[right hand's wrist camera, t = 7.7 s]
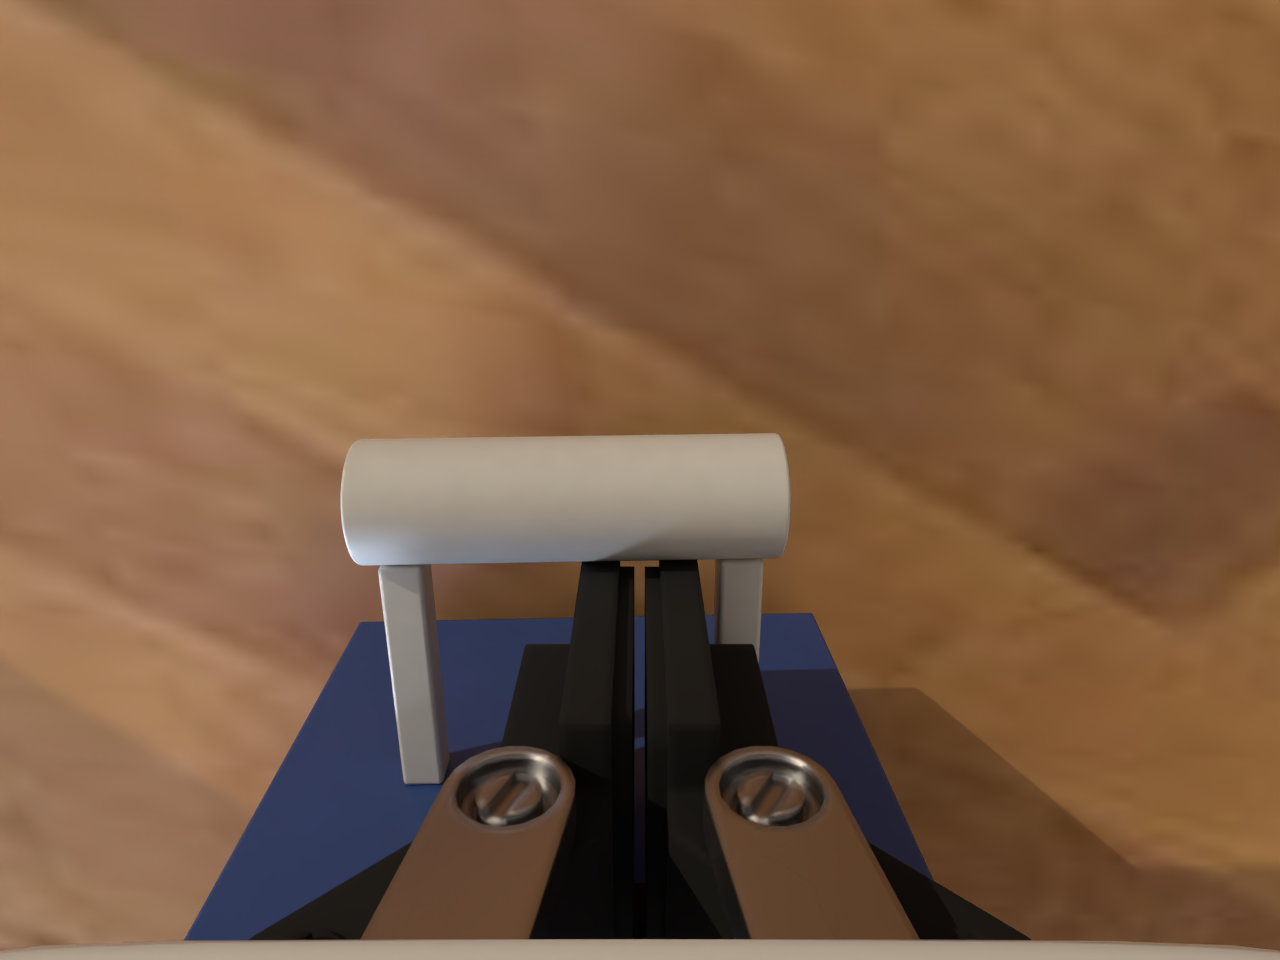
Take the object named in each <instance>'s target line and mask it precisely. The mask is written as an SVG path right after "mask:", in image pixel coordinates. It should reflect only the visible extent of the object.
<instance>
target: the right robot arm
mask: <svg viewBox="0 0 1280 960" xmlns="http://www.w3.org/2000/svg"><path fill="white" fill-rule="evenodd" d="M634 762H635V642H634V567H620V561H582V565H581V572H580V579H579V586H578V593H577V600H576V607H575V613H574V620H573V627H572V634H571V641H570V644H527V645H526V646H525V649H524V652H523V656H522V661H521V665H520V669H519V673H518V677H517V682H516V686H515V690H514V694H513V698H512V703H511V707H510V711H509V715H508V719H507V724H506V728H505V732H504V736H503V740H502V745H501V748H496V749H491V750H487V751H485V752H482V753H480V754H478V755H475V756H473V757H470V758H469V759H468V760H466V761H465V762H463V763H462V764H461V765H459V766H458V767H457V768H455V769H454V771H453V772H452V773H451V774H450V776H449V777H448V778H447V780H446V781H445V782H444V784H443V786H442V788H441V790H440V792H439V794H438V795H437V797H436V799H435V801H434V803H433V805H432V807H431V809H430V810H429V812H428V814H427V816H426V818H425V820H424V822H423V823H422V825H421V827H420V829H419V831H418V833H417V835H416V836H415V838H414V840H413V841H412V842H410V843H409V844H407V845H405V846H404V847H402V848H400V849H399V850H397V851H395V852H394V853H392V854H390V855H388V856H387V857H385V858H383V859H382V860H380V861H378V862H377V863H375V864H373V865H372V866H370V867H368V868H367V869H365V870H363V871H362V872H360V873H358V874H357V875H355V876H353V877H352V878H350V879H348V880H347V881H345V882H343V883H342V884H340V885H338V886H337V887H335V888H333V889H331V890H330V891H328V892H326V893H325V894H323V895H321V896H320V897H318V898H316V899H315V900H313V901H311V902H310V903H308V904H306V905H305V906H303V907H301V908H300V909H298V910H296V911H295V912H293V913H291V914H290V915H288V916H286V917H285V918H283V919H281V920H280V921H278V922H276V923H274V924H273V925H271V926H269V927H268V928H266V929H264V930H263V931H261V932H259V933H258V934H256V935H254V936H253V937H252V938H250V939H249V940H215V941H149V942H122V943H96V944H70V945H45V946H36V947H27V948H18V949H9V950H0V960H1280V950H1271V949H1262V948H1253V947H1244V946H1235V945H1210V944H1184V943H1158V942H1131V941H1065V940H1031V939H1029V938H1028V937H1027V936H1025V935H1023V934H1022V933H1020V932H1018V931H1017V930H1015V929H1013V928H1012V927H1010V926H1008V925H1007V924H1005V923H1003V922H1002V921H1000V920H998V919H997V918H995V917H993V916H992V915H990V914H988V913H987V912H985V911H983V910H981V909H980V908H978V907H976V906H975V905H973V904H971V903H970V902H968V901H966V900H965V899H963V898H961V897H960V896H958V895H956V894H955V893H953V892H951V891H950V890H948V889H946V888H945V887H943V886H941V885H940V884H938V883H936V882H934V881H933V880H931V879H929V878H928V877H926V876H924V875H923V874H921V873H919V872H918V871H916V870H914V869H913V868H911V867H909V866H908V865H906V864H904V863H903V862H901V861H899V860H898V859H896V858H894V857H893V856H891V855H889V854H887V853H886V852H884V851H882V850H881V849H879V848H877V847H876V846H874V845H872V844H871V843H869V842H867V840H866V838H865V836H864V835H863V833H862V831H861V829H860V827H859V825H858V823H857V822H856V820H855V818H854V816H853V814H852V812H851V810H850V809H849V807H848V805H847V803H846V801H845V799H844V797H843V795H842V794H841V792H840V790H839V788H838V786H837V784H836V782H835V781H834V780H833V778H832V777H831V776H830V774H829V773H828V772H827V771H826V769H825V768H823V767H822V766H821V765H819V764H818V763H817V762H815V761H814V760H812V759H811V758H810V757H807V756H805V755H802V754H800V753H798V752H795V751H793V750H789V749H784V748H779V747H778V743H777V739H776V735H775V731H774V726H773V722H772V718H771V714H770V710H769V705H768V701H767V697H766V693H765V689H764V685H763V680H762V676H761V672H760V668H759V664H758V659H757V655H756V651H755V648H754V645H753V644H709V639H708V632H707V625H706V618H705V611H704V605H703V598H702V591H701V584H700V577H699V571H698V564H697V559H693V560H659V567H645V832H646V932H647V939H633V871H634Z"/></svg>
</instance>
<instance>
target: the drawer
mask: <svg viewBox="0 0 1280 960" xmlns="http://www.w3.org/2000/svg"><path fill="white" fill-rule="evenodd" d="M790 512H791V491H790V475H789V466H788V459H787V454H786V450H785V446H784V443H783V441H782V438H781V437H780V435H778V434H776V433H755V434H682V435H608V436H535V437H462V438H389V439H359V440H357V441H355V442H354V443H353V444H352V446H351V447H350V449H349V451H348V454H347V457H346V460H345V464H344V469H343V475H342V483H341V519H342V527H343V533H344V538H345V542H346V545H347V548H348V551H349V554H350V556H351V558H352V559H353V560H354V561H355V562H356V563H357V564H359V565H381V566H380V568H379V571H378V574H379V582H380V590H381V599H382V607H383V615H384V622H361V623H360V624H359V625H358V627H357V629H356V631H355V633H354V634H353V636H352V638H351V640H350V642H349V643H348V645H347V647H346V649H345V651H344V652H343V654H342V656H341V658H340V660H339V661H338V663H337V665H336V667H335V669H334V670H333V672H332V674H331V676H330V678H329V680H328V681H327V683H326V685H325V687H324V689H323V690H322V692H321V694H320V696H319V698H318V699H317V701H316V703H315V705H314V707H313V708H312V710H311V712H310V714H309V716H308V717H307V719H306V721H305V723H304V725H303V726H302V728H301V730H300V732H299V734H298V735H297V737H296V739H295V741H294V743H293V744H292V746H291V748H290V750H289V752H288V754H287V755H286V757H285V759H284V761H283V763H282V764H281V766H280V768H279V770H278V772H277V773H276V775H275V777H274V779H273V781H272V782H271V784H270V786H269V788H268V790H267V791H266V793H265V795H264V797H263V799H262V800H261V802H260V804H259V806H258V808H257V809H256V811H255V813H254V815H253V817H252V818H251V820H250V822H249V824H248V826H247V828H246V829H245V831H244V833H243V835H242V837H241V838H240V840H239V842H238V844H237V846H236V847H235V849H234V851H233V853H232V855H231V856H230V858H229V860H228V862H227V864H226V865H225V867H224V869H223V871H222V873H221V874H220V876H219V878H218V880H217V882H216V883H215V885H214V887H213V889H212V891H211V892H210V894H209V896H208V898H207V900H206V902H205V903H204V905H203V907H202V909H201V911H200V912H199V914H198V916H197V918H196V920H195V921H194V923H193V925H192V927H191V929H190V930H189V932H188V934H187V936H186V938H185V939H184V941H215V940H249V939H250V938H252V937H253V936H254V935H256V934H258V933H259V932H261V931H263V930H264V929H266V928H268V927H269V926H271V925H273V924H274V923H276V922H278V921H280V920H281V919H283V918H285V917H286V916H288V915H290V914H291V913H293V912H295V911H296V910H298V909H300V908H301V907H303V906H305V905H306V904H308V903H310V902H311V901H313V900H315V899H316V898H318V897H320V896H321V895H323V894H325V893H326V892H328V891H330V890H331V889H333V888H335V887H337V886H338V885H340V884H342V883H343V882H345V881H347V880H348V879H350V878H352V877H353V876H355V875H357V874H358V873H360V872H362V871H363V870H365V869H367V868H368V867H370V866H372V865H373V864H375V863H377V862H378V861H380V860H382V859H383V858H385V857H387V856H388V855H390V854H392V853H394V852H395V851H397V850H399V849H400V848H402V847H404V846H405V845H407V844H409V843H410V842H412V841H413V840H414V838H415V836H416V835H417V833H418V831H419V829H420V827H421V825H422V823H423V822H424V820H425V818H426V816H427V814H428V812H429V810H430V809H431V807H432V805H433V803H434V801H435V799H436V797H437V795H438V794H439V792H440V790H441V788H442V786H443V784H444V782H445V781H446V780H447V778H448V777H449V776H450V774H451V773H452V772H453V771H454V769H455V768H457V767H458V766H459V765H461V764H462V763H463V762H465V761H466V760H468V759H469V758H470V757H473V756H475V755H478V754H480V753H482V752H485V751H487V750H491V749H496V748H501V745H502V740H503V736H504V732H505V728H506V724H507V719H508V715H509V711H510V707H511V703H512V698H513V694H514V690H515V686H516V682H517V677H518V673H519V669H520V665H521V661H522V656H523V652H524V649H525V646H526V645H527V644H570V641H571V634H572V627H573V620H574V618H539V619H489V620H438V621H436V614H435V604H434V594H433V583H432V573H431V564H469V563H525V562H581V561H637V560H693V559H716V562H715V597H714V615H705V618H706V625H707V632H708V639H709V644H753V645H754V648H755V651H756V655H757V659H758V664H759V668H760V672H761V676H762V680H763V685H764V689H765V693H766V697H767V701H768V705H769V710H770V714H771V718H772V722H773V726H774V731H775V735H776V739H777V743H778V747H779V748H784V749H789V750H793V751H795V752H798V753H800V754H802V755H805V756H807V757H810V758H811V759H812V760H814V761H815V762H817V763H818V764H819V765H821V766H822V767H823V768H825V769H826V771H827V772H828V773H829V774H830V776H831V777H832V778H833V780H834V781H835V782H836V784H837V786H838V788H839V790H840V792H841V794H842V795H843V797H844V799H845V801H846V803H847V805H848V807H849V809H850V810H851V812H852V814H853V816H854V818H855V820H856V822H857V823H858V825H859V827H860V829H861V831H862V833H863V835H864V836H865V838H866V840H867V842H869V843H871V844H872V845H874V846H876V847H877V848H879V849H881V850H882V851H884V852H886V853H887V854H889V855H891V856H893V857H894V858H896V859H898V860H899V861H901V862H903V863H904V864H906V865H908V866H909V867H911V868H913V869H914V870H916V871H918V872H919V873H921V874H923V875H924V876H926V877H928V878H929V879H931V880H933V878H932V876H931V874H930V872H929V870H928V867H927V865H926V863H925V861H924V858H923V856H922V854H921V852H920V850H919V847H918V845H917V843H916V841H915V839H914V836H913V834H912V832H911V830H910V828H909V825H908V823H907V821H906V819H905V817H904V814H903V812H902V810H901V808H900V806H899V803H898V801H897V799H896V797H895V795H894V792H893V790H892V788H891V786H890V784H889V781H888V779H887V777H886V775H885V773H884V770H883V768H882V766H881V764H880V762H879V759H878V757H877V755H876V753H875V751H874V748H873V746H872V744H871V742H870V740H869V737H868V735H867V733H866V731H865V729H864V726H863V724H862V722H861V720H860V717H859V715H858V713H857V711H856V709H855V706H854V704H853V702H852V700H851V698H850V695H849V693H848V691H847V689H846V687H845V684H844V682H843V680H842V678H841V676H840V673H839V671H838V669H837V667H836V665H835V662H834V660H833V658H832V656H831V654H830V651H829V649H828V647H827V645H826V643H825V640H824V638H823V636H822V634H821V632H820V629H819V627H818V625H817V623H816V621H815V618H814V616H813V614H811V613H792V614H761V608H762V588H763V568H764V564H763V561H762V559H761V558H779V557H781V556H782V555H783V553H784V551H785V548H786V544H787V540H788V535H789V527H790ZM634 642H635V762H634V871H633V939H647V932H646V832H645V616H641V617H634Z"/></svg>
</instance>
